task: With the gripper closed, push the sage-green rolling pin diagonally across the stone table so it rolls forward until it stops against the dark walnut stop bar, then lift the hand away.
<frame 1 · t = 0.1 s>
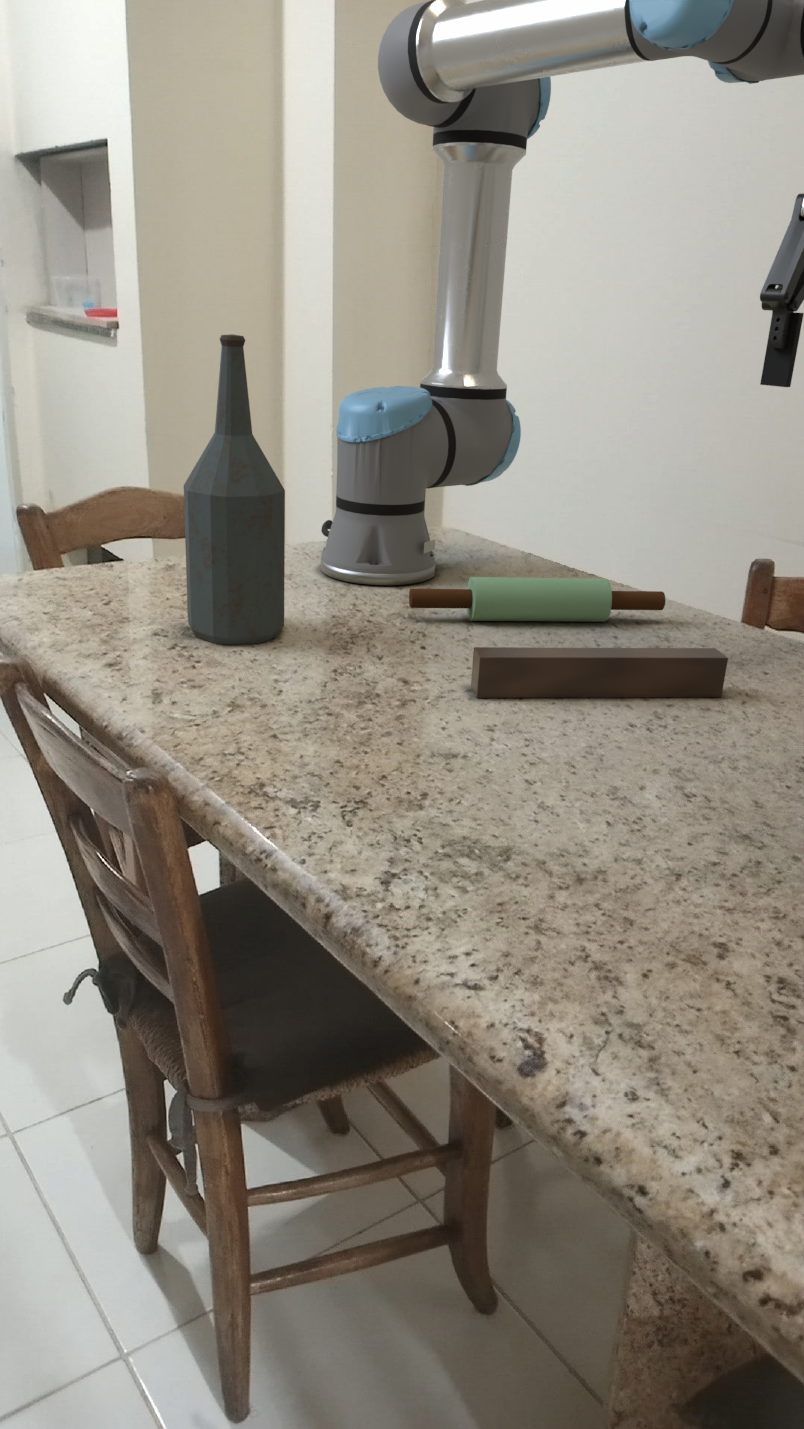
stop bar: (596, 692, 98), on the table
bottle: (236, 633, 110), on the table
rolling pin: (536, 620, 119), on the table
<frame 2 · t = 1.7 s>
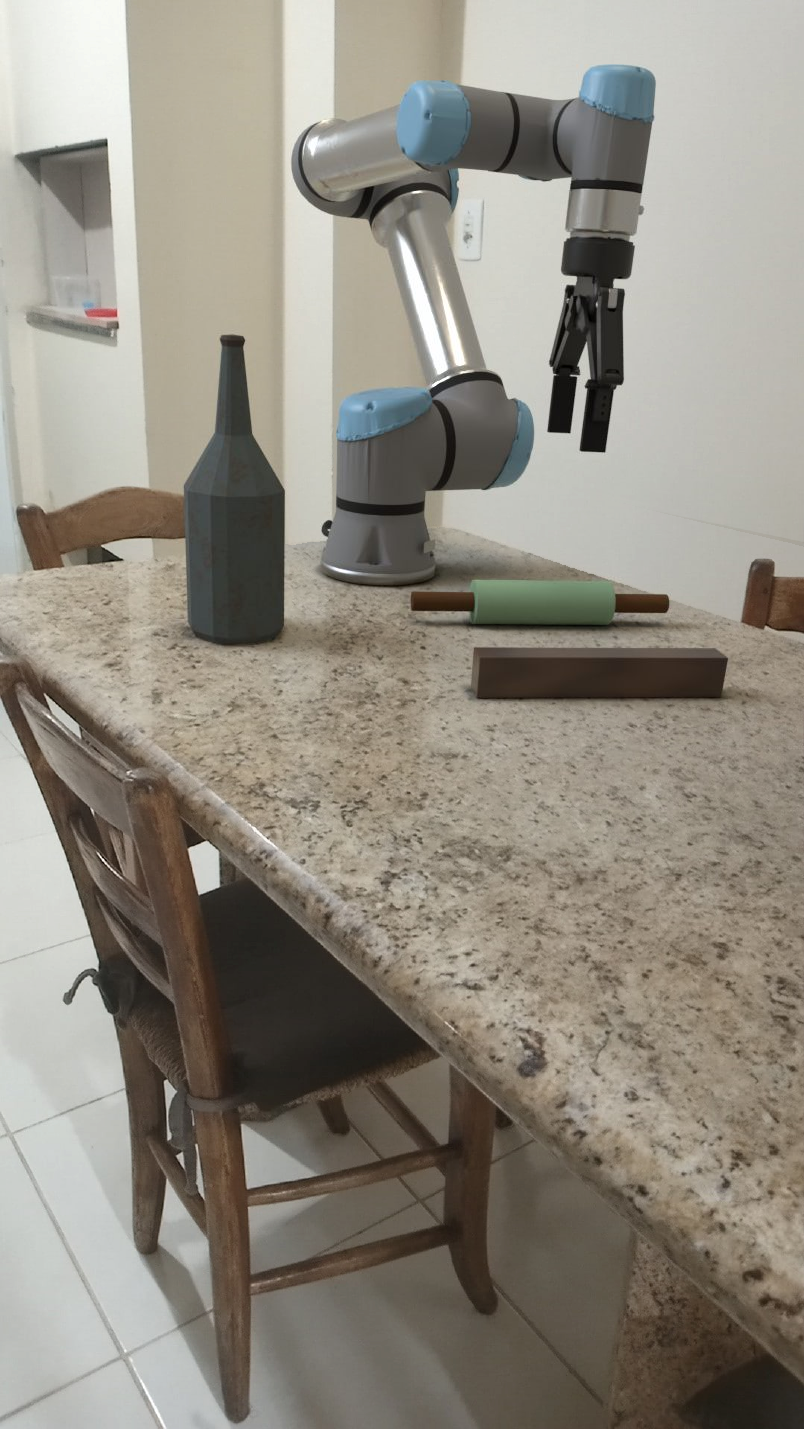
hand: (574, 442, 117), 20 cm above the table, tool pointing down, fingers open, 13 cm apart
rolling pin: (536, 617, 119), on the table, tilted 30°
everything else where it was.
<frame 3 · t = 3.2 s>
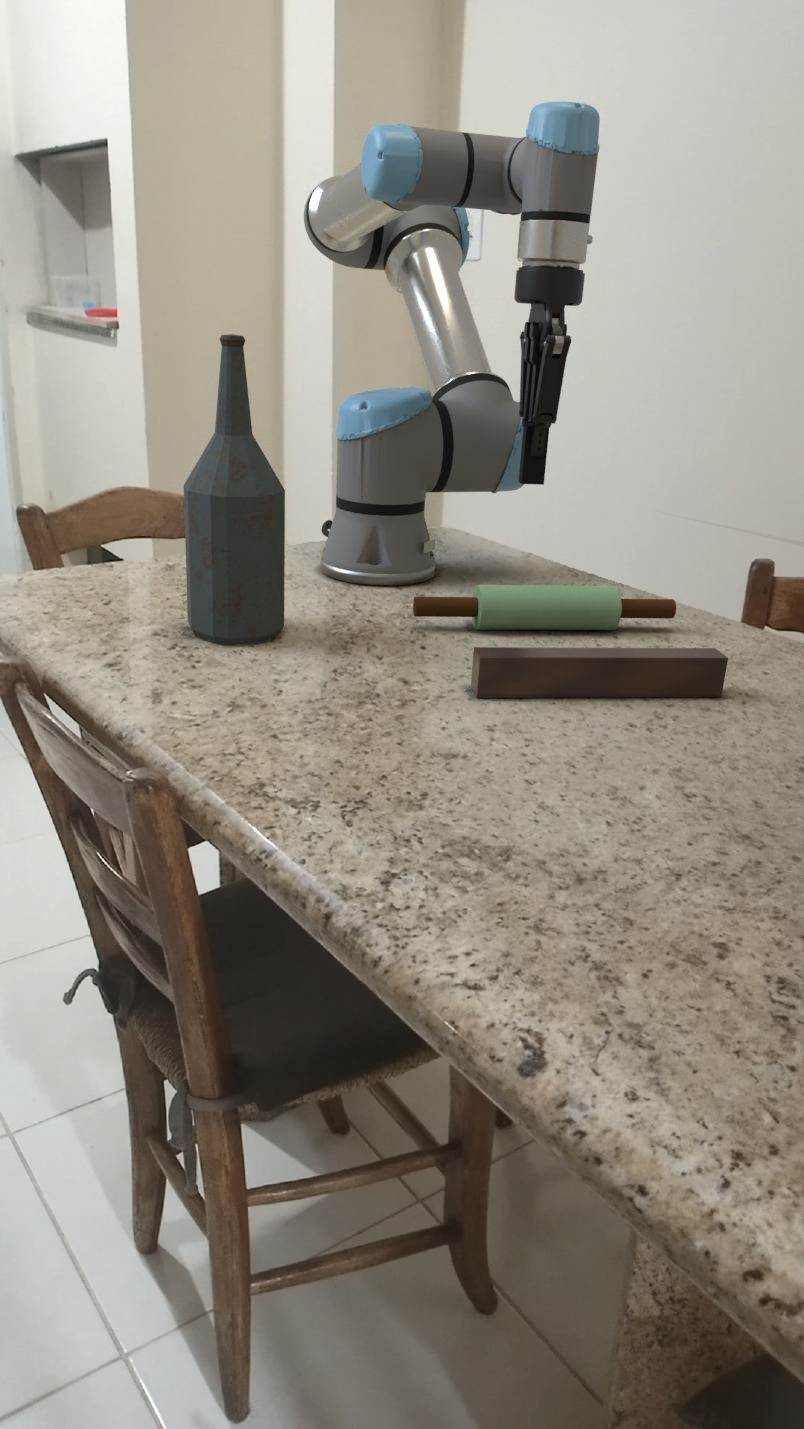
hand: (531, 483, 121), 15 cm above the table, tool pointing down, fingers closed
rolling pin: (539, 605, 118), point 2 cm above the table, tilted 79°
everything else where it was.
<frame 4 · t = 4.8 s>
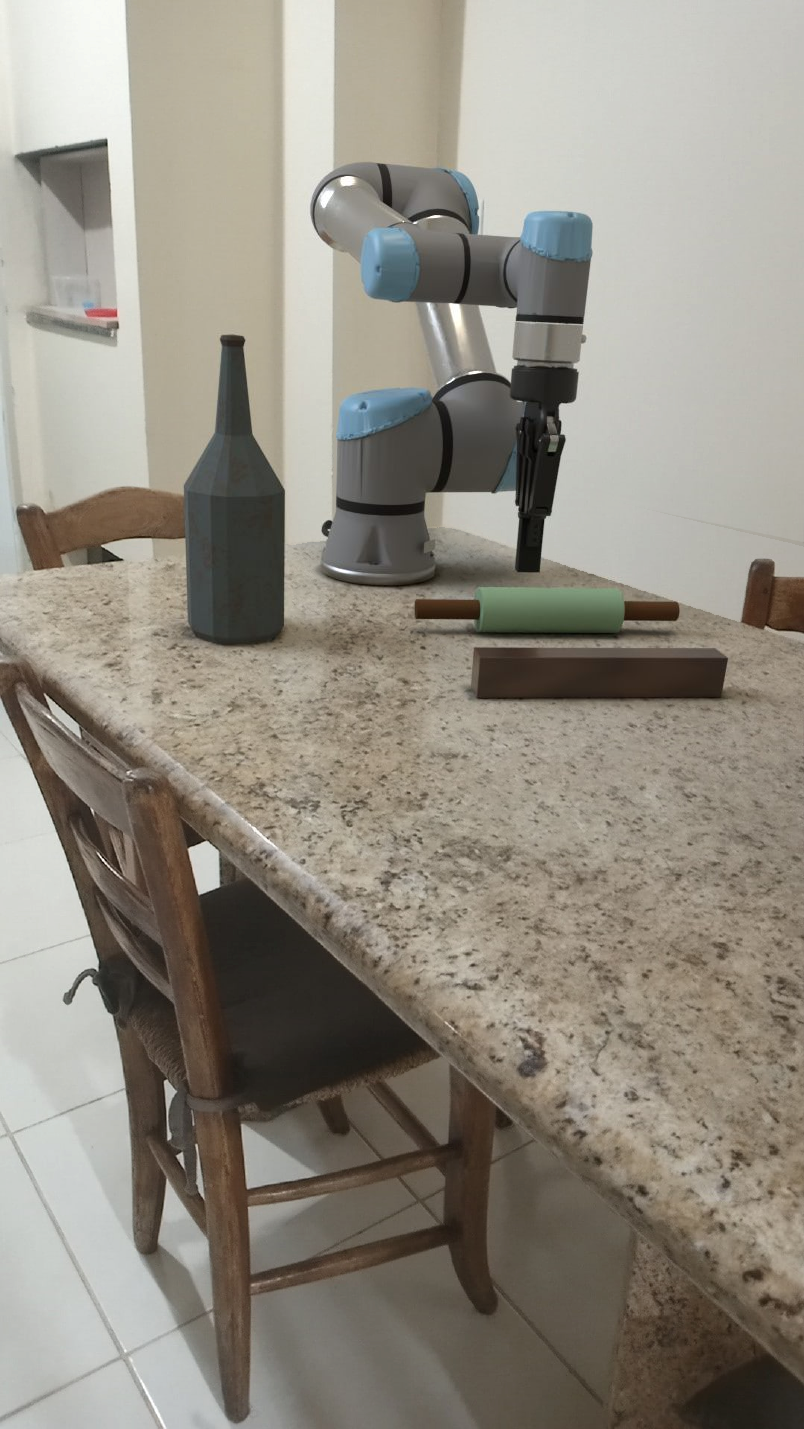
hand: (527, 570, 123), 4 cm above the table, tool pointing down, fingers closed
rolling pin: (543, 599, 116), point 3 cm above the table, tilted 102°
everything else where it was.
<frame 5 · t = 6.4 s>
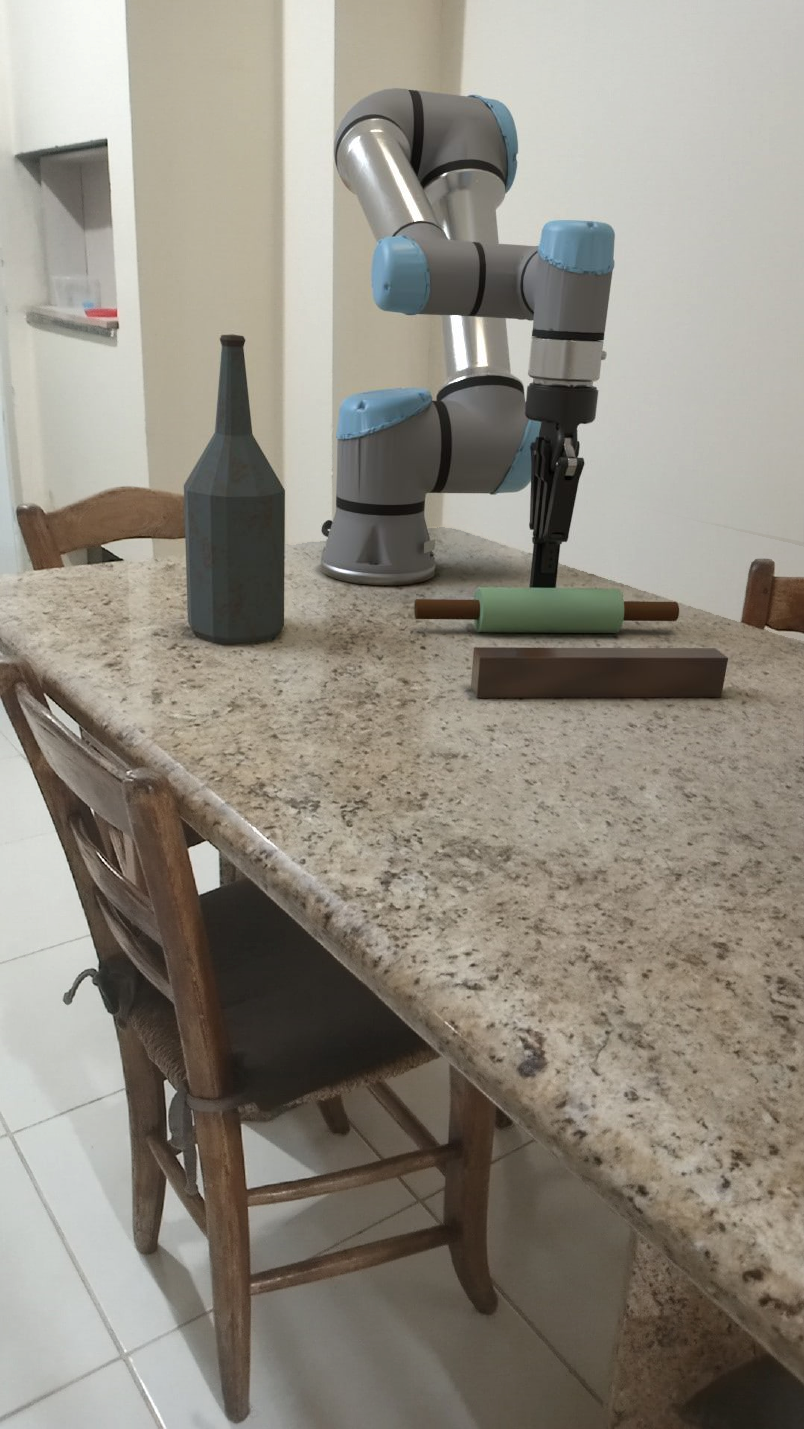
hand: (541, 597, 117), 3 cm above the table, tool pointing down, fingers closed
rolling pin: (542, 600, 117), point 3 cm above the table, tilted 99°, touching gripper
everything else where it was.
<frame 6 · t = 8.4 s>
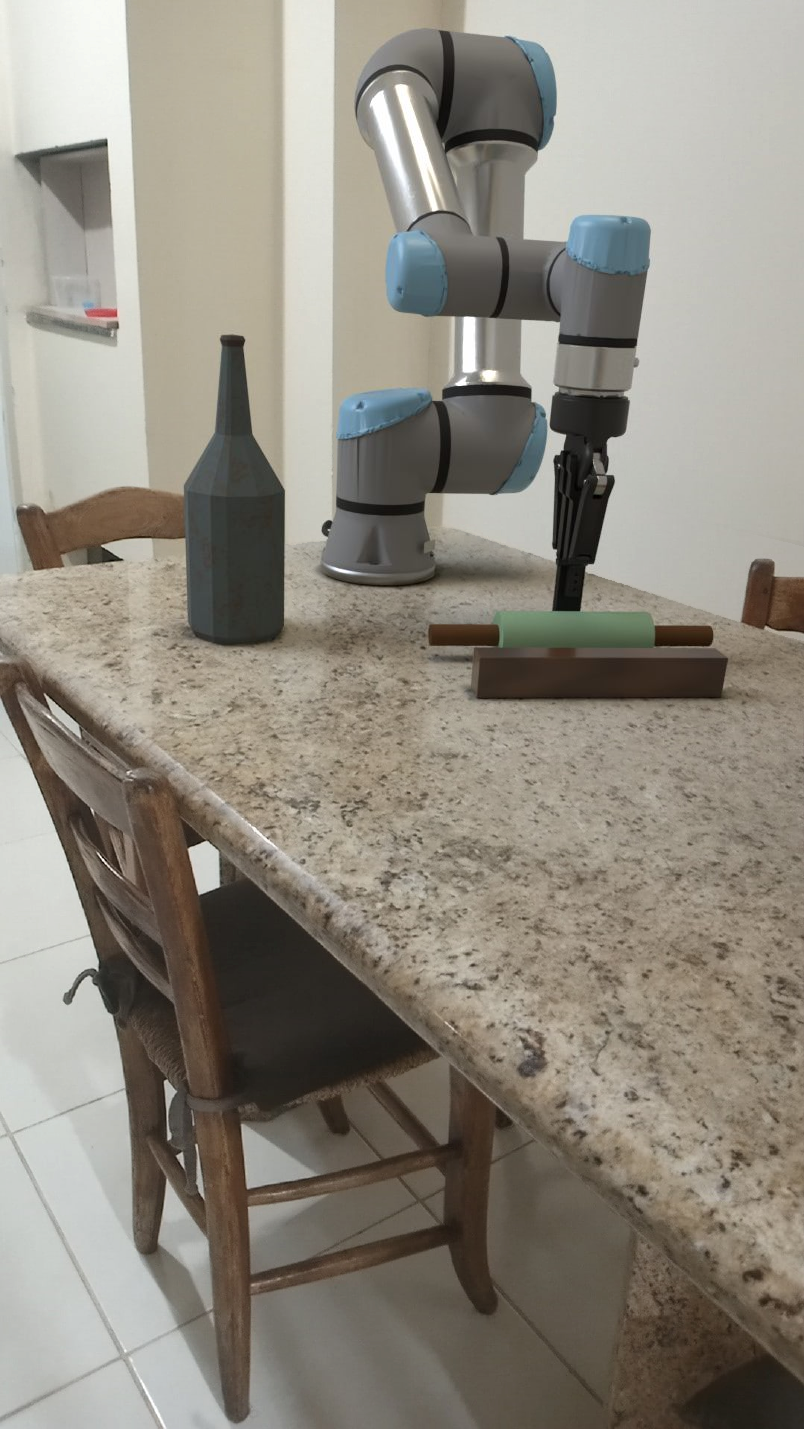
hand: (564, 623, 109), 3 cm above the table, tool pointing down, fingers closed
rolling pin: (577, 615, 104), point 5 cm above the table, tilted 161°, touching gripper
everything else where it was.
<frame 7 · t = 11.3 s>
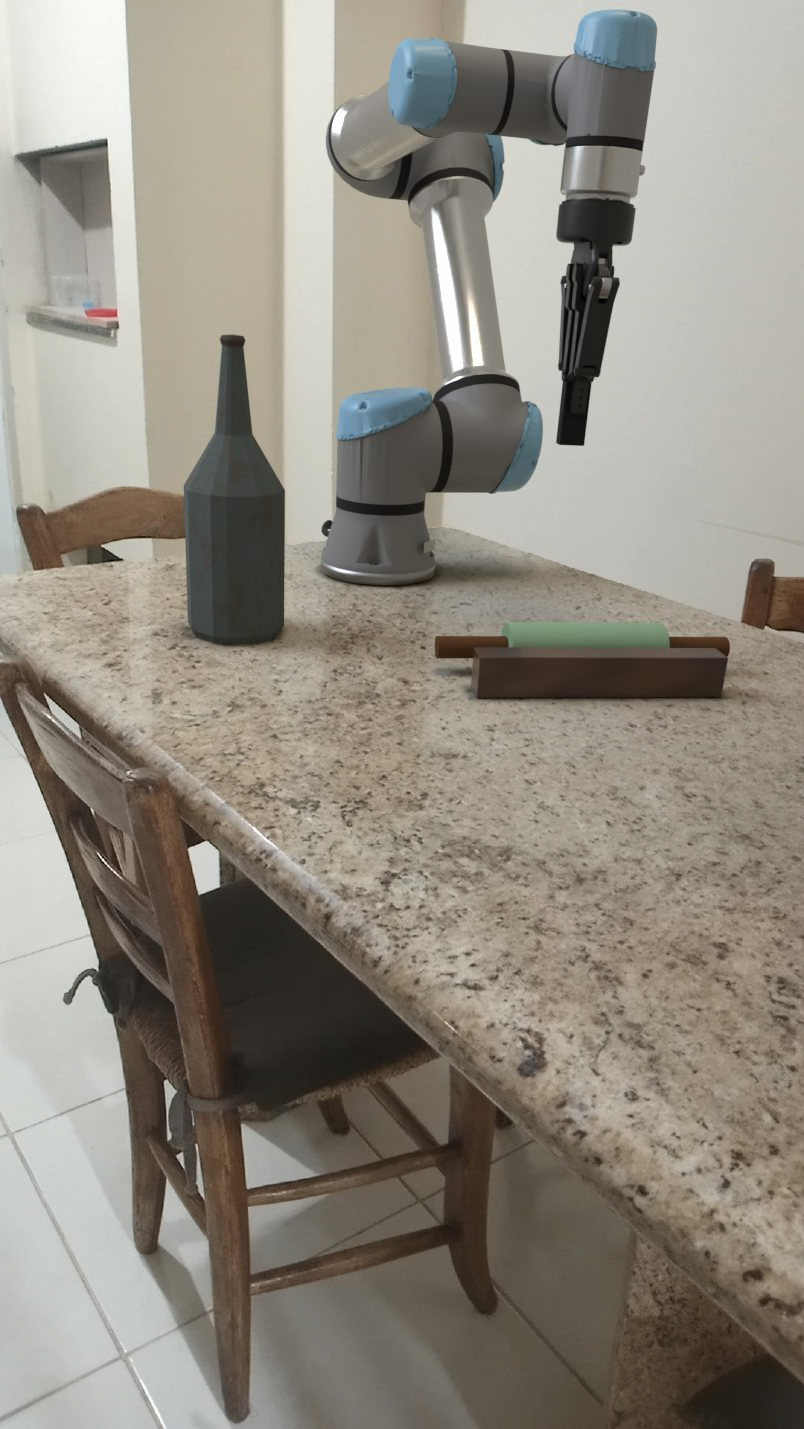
hand: (569, 444, 110), 20 cm above the table, tool pointing down, fingers closed
rolling pin: (591, 651, 100), point 3 cm above the table, tilted 99°
everything else where it was.
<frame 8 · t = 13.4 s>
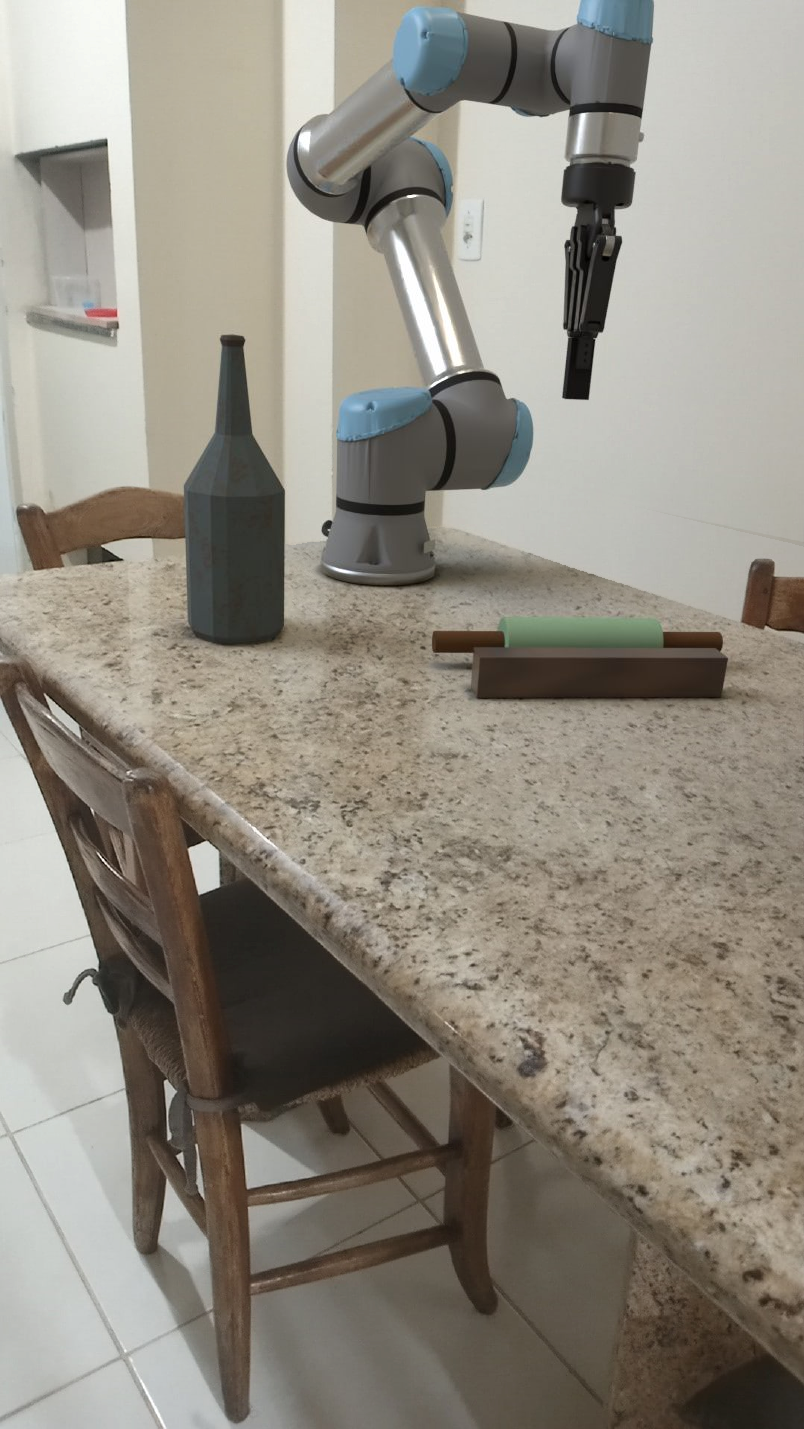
hand: (575, 398, 116), 24 cm above the table, tool pointing down, fingers closed
rolling pin: (586, 629, 102), point 4 cm above the table, tilted 138°
everything else where it was.
at the end: rolling pin 6.0 cm from the stop bar (horizontally); rolling pin moved 18.1 cm from its start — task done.
